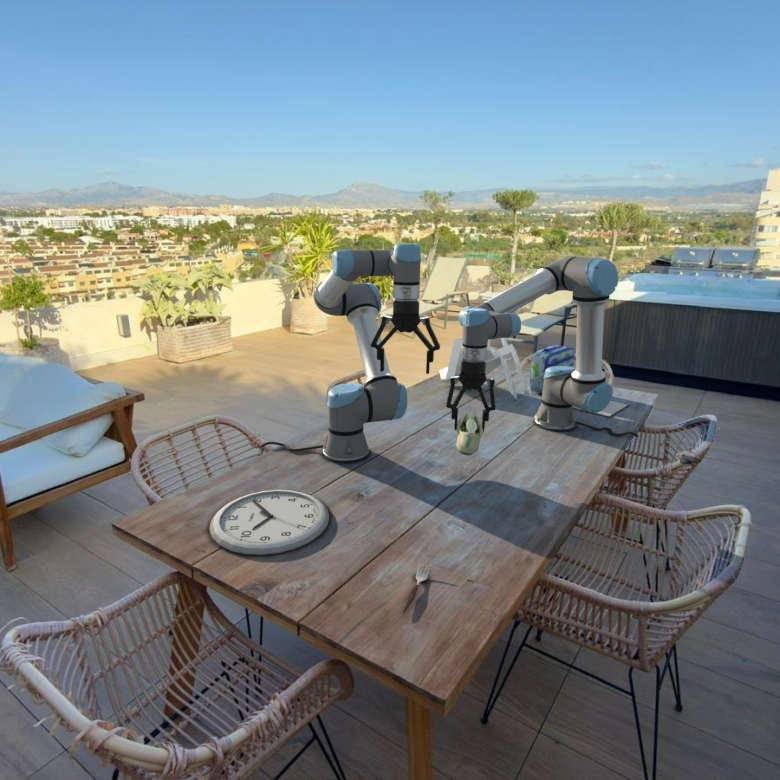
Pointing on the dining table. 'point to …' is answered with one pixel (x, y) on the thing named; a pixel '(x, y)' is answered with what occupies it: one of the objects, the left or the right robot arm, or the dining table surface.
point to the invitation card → (610, 408)
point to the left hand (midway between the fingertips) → (404, 371)
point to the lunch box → (548, 363)
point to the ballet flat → (469, 434)
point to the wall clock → (269, 522)
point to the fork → (420, 577)
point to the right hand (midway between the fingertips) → (469, 429)
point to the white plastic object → (487, 364)
